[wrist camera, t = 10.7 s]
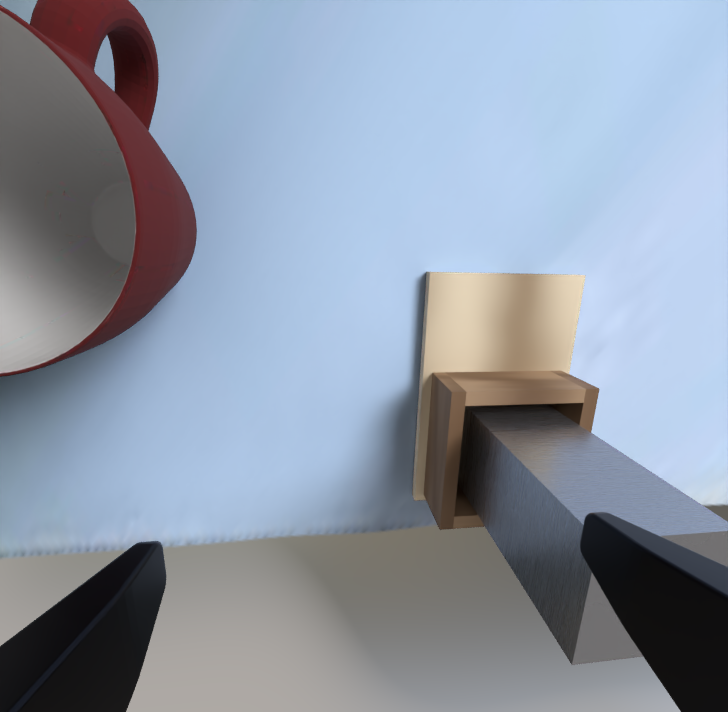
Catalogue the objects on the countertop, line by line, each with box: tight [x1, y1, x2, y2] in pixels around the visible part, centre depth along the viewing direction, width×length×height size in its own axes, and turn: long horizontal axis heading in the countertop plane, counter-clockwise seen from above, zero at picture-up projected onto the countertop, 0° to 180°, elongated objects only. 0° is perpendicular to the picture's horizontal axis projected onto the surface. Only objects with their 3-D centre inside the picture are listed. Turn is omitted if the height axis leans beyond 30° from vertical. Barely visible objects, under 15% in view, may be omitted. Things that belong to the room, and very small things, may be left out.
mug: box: [0, 0, 197, 377], centre depth 13 cm, size 10×8×10 cm
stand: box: [412, 272, 599, 530], centre depth 20 cm, size 8×13×4 cm, turn 179°
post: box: [458, 404, 728, 665], centre depth 17 cm, size 4×4×11 cm
